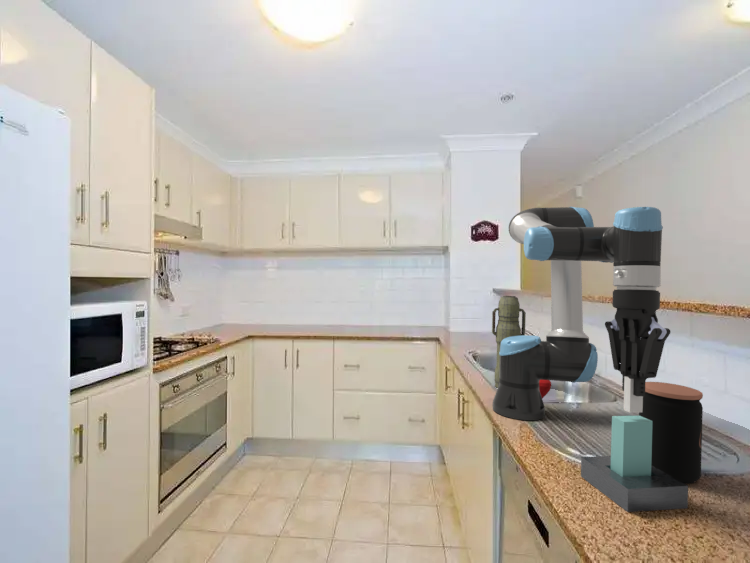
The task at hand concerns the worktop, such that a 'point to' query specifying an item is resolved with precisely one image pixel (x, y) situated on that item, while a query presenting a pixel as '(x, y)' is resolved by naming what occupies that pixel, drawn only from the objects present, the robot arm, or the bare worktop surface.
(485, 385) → the worktop surface
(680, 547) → the worktop surface
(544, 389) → the strawberry
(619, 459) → the keyed peg
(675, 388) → the coffee jar
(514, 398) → the robot arm
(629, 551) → the worktop surface
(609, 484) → the block
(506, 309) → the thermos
